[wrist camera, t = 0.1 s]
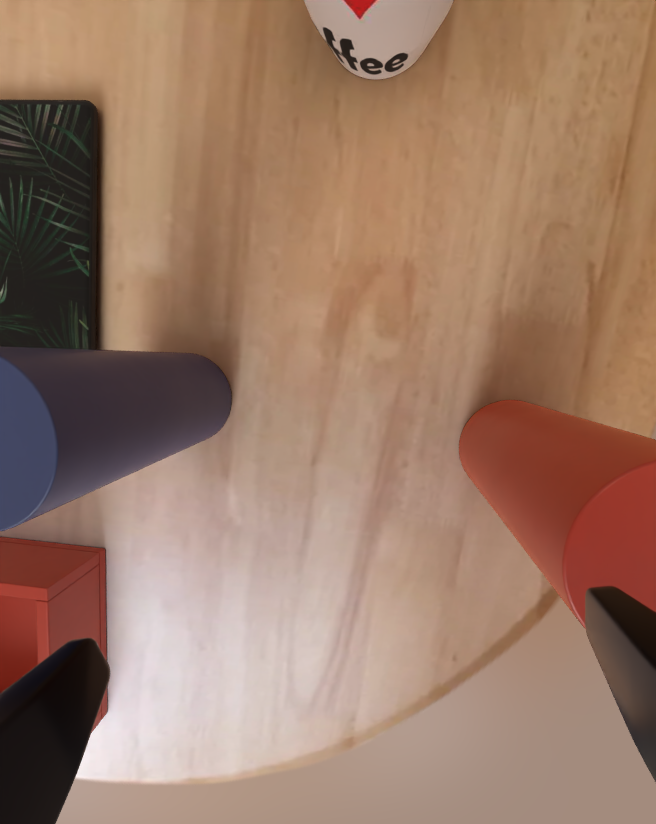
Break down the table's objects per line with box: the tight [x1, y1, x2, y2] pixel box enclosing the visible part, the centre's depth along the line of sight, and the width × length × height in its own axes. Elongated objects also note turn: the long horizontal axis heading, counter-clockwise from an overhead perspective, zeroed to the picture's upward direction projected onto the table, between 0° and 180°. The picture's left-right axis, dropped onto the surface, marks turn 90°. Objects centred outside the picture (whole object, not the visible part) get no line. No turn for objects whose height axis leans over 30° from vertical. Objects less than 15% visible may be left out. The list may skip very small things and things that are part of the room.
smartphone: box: [0, 100, 98, 350], centre depth 23 cm, size 7×1×15 cm
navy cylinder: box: [0, 347, 232, 531], centre depth 18 cm, size 5×5×13 cm
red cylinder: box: [459, 400, 656, 629], centre depth 16 cm, size 5×5×13 cm
